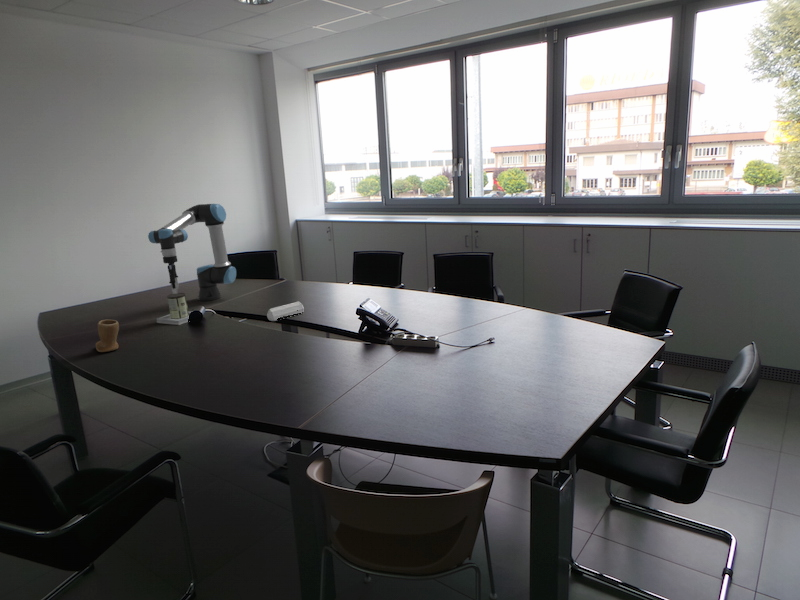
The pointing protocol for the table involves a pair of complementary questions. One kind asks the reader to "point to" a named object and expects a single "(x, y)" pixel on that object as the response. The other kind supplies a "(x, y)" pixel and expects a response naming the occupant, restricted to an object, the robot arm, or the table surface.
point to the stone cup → (107, 335)
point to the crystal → (284, 311)
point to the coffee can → (177, 306)
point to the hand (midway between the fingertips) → (175, 291)
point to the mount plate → (172, 320)
